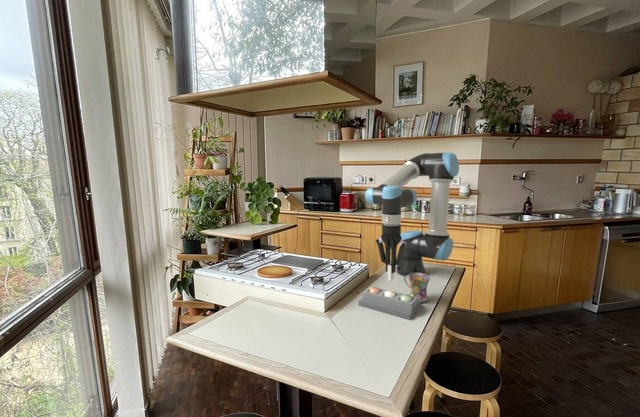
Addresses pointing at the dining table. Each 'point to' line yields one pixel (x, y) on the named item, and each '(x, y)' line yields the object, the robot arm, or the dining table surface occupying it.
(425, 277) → the mug
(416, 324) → the dining table surface
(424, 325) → the dining table surface
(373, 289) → the brown egg
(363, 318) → the dining table surface
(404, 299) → the pale green rounded piece
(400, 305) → the panel
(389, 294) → the white egg
